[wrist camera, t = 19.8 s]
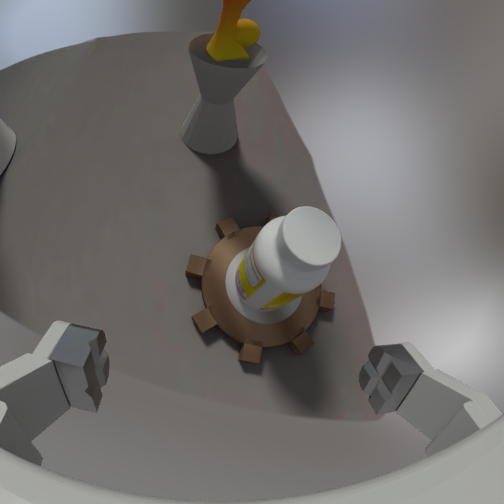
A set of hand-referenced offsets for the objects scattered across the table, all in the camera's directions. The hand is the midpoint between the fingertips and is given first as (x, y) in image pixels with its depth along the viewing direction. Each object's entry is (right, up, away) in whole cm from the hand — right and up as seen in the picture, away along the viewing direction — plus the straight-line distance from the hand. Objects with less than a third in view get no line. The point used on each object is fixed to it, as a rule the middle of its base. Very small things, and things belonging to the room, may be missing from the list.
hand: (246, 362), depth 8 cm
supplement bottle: (+1, 0, +24) cm, 24 cm away
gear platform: (+1, -1, +25) cm, 25 cm away
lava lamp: (-6, +21, +32) cm, 38 cm away
